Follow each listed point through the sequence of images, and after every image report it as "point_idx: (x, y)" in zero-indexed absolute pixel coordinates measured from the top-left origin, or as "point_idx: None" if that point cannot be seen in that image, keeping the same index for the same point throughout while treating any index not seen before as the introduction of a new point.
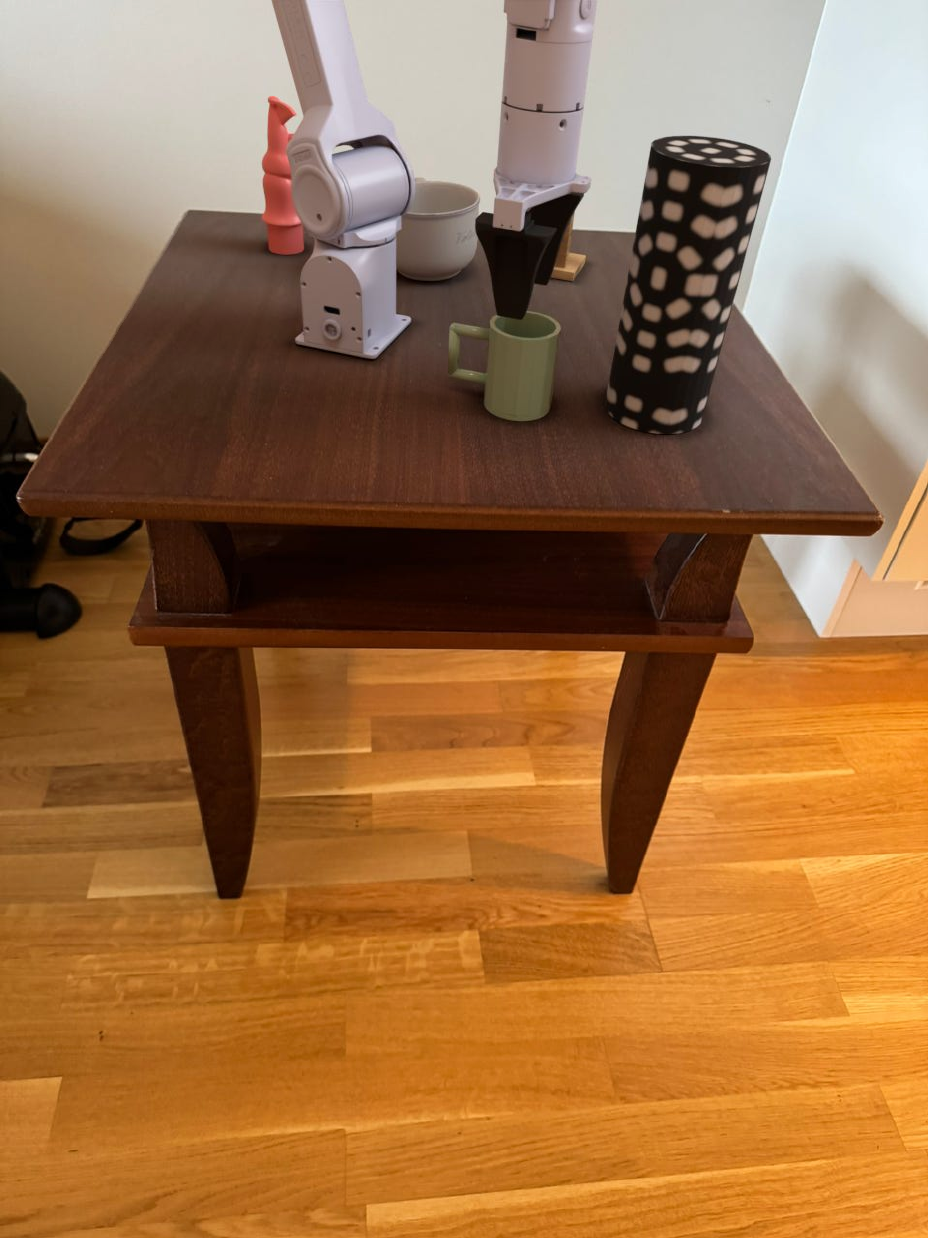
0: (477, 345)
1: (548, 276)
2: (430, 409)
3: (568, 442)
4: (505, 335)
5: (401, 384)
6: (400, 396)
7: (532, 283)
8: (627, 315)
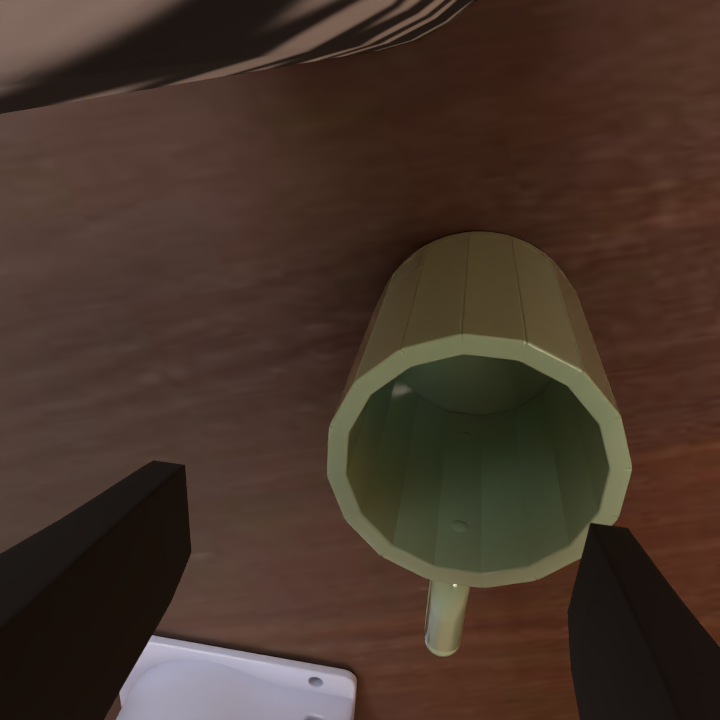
0: None
1: (167, 486)
2: None
3: (685, 138)
4: None
5: None
6: (514, 597)
7: (704, 648)
8: (423, 10)
